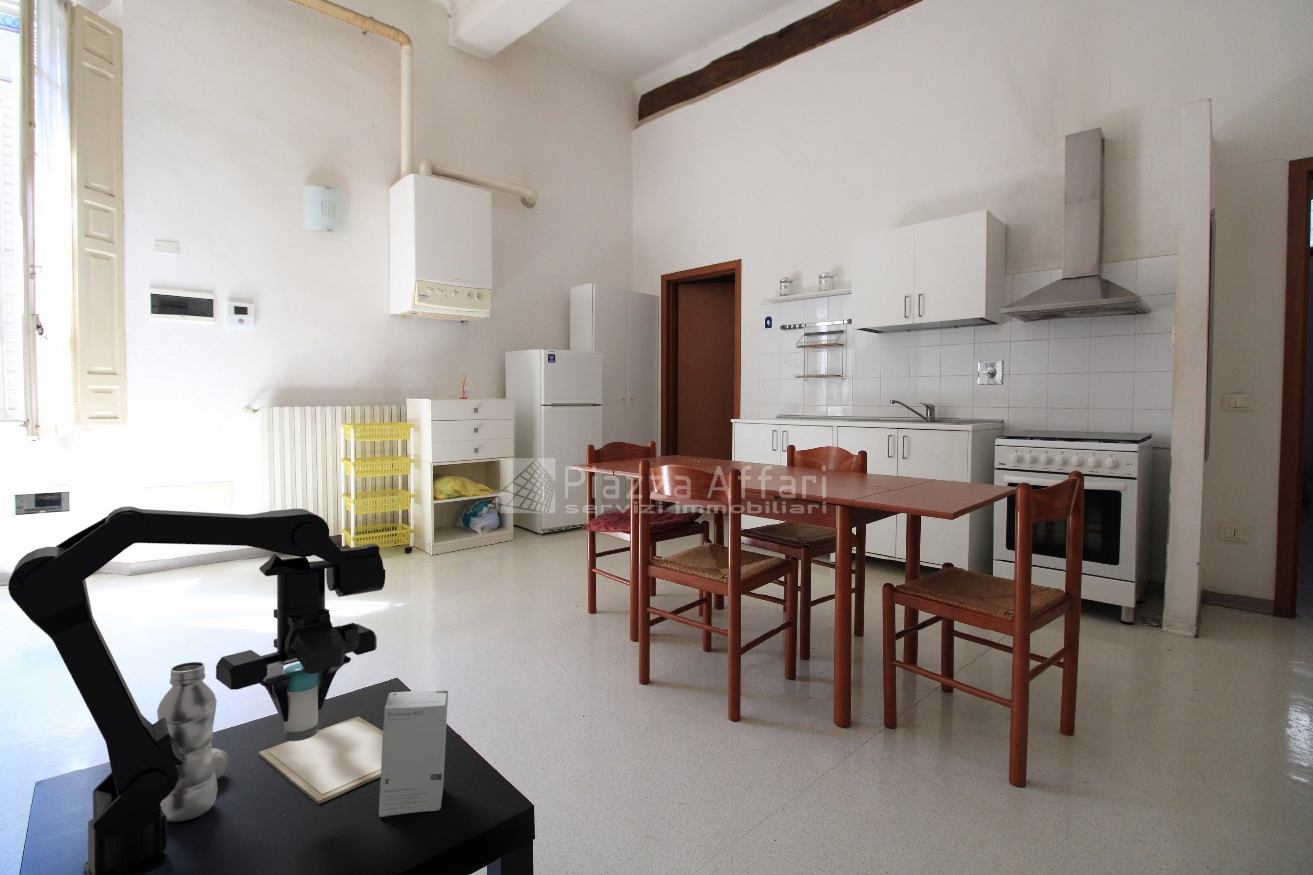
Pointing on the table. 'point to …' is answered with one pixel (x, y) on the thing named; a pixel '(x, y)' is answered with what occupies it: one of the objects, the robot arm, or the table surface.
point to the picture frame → (330, 759)
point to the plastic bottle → (190, 741)
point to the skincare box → (413, 752)
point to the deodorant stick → (301, 704)
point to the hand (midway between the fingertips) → (301, 715)
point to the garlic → (219, 761)
